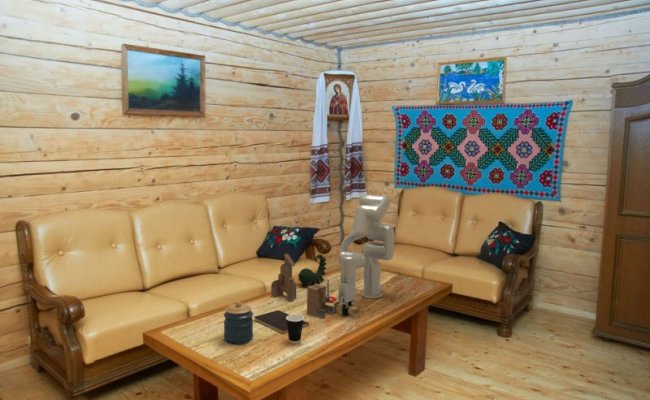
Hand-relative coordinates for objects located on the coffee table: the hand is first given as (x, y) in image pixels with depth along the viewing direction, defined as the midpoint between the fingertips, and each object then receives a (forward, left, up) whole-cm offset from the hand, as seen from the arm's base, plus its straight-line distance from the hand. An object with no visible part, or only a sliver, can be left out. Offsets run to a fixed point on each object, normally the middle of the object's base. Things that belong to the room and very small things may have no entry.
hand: (347, 313), depth 258 cm
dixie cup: (+43, 0, -1) cm, 43 cm away
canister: (+57, -21, -1) cm, 61 cm away
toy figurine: (-30, -46, -1) cm, 55 cm away
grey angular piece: (+8, -11, 0) cm, 14 cm away
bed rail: (0, 0, -1) cm, 1 cm away
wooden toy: (0, -43, -1) cm, 43 cm away
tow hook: (-13, -21, -1) cm, 25 cm away
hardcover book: (+30, -19, -1) cm, 36 cm away
